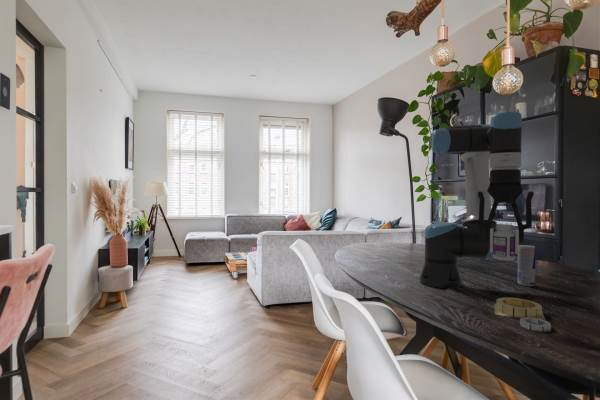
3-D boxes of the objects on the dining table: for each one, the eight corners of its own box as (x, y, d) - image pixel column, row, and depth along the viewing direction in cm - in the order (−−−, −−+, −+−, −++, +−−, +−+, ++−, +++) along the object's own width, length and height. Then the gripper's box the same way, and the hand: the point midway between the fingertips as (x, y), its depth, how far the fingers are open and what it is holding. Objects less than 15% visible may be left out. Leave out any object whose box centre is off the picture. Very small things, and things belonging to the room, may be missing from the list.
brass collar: (496, 314, 99) (496, 305, 99) (496, 303, 109) (496, 295, 109) (544, 321, 94) (544, 311, 94) (538, 309, 104) (539, 300, 104)
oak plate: (494, 317, 100) (494, 314, 100) (494, 306, 109) (494, 303, 109) (546, 324, 94) (546, 321, 94) (540, 312, 104) (541, 309, 104)
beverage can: (537, 287, 131) (538, 246, 131) (521, 286, 132) (521, 246, 132) (531, 283, 137) (531, 244, 136) (515, 282, 138) (515, 244, 137)
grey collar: (521, 331, 89) (521, 323, 89) (519, 323, 95) (519, 315, 95) (552, 336, 86) (552, 328, 86) (548, 327, 92) (548, 320, 92)
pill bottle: (507, 257, 101) (508, 223, 101) (519, 260, 96) (519, 225, 96) (488, 257, 101) (489, 223, 101) (499, 260, 96) (499, 225, 96)
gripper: (467, 169, 99) (466, 251, 100) (546, 167, 90) (545, 257, 91) (469, 170, 106) (468, 247, 107) (544, 168, 97) (542, 253, 97)
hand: (503, 252), depth 99 cm, fingers closed on pill bottle, 5 cm apart
